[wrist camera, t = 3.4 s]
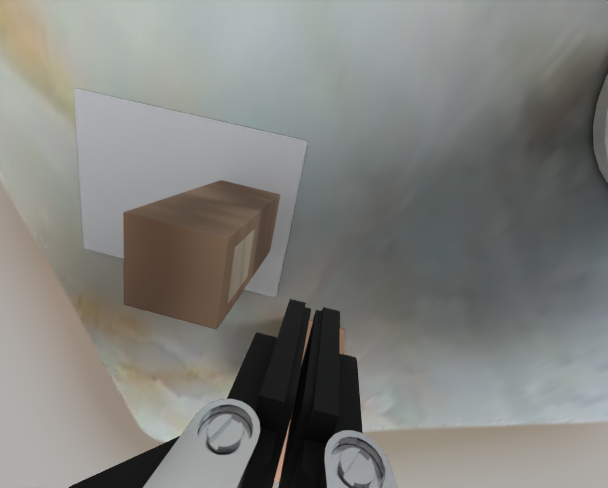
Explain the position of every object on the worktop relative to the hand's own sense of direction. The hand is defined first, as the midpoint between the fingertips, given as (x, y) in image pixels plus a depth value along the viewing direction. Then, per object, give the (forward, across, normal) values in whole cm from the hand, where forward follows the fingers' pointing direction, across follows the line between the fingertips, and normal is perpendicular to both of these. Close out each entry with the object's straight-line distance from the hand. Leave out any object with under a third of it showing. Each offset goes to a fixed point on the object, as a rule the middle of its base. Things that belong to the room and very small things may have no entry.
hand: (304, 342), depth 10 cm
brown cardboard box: (+11, +5, 0) cm, 12 cm away
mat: (+11, +10, 0) cm, 15 cm away
